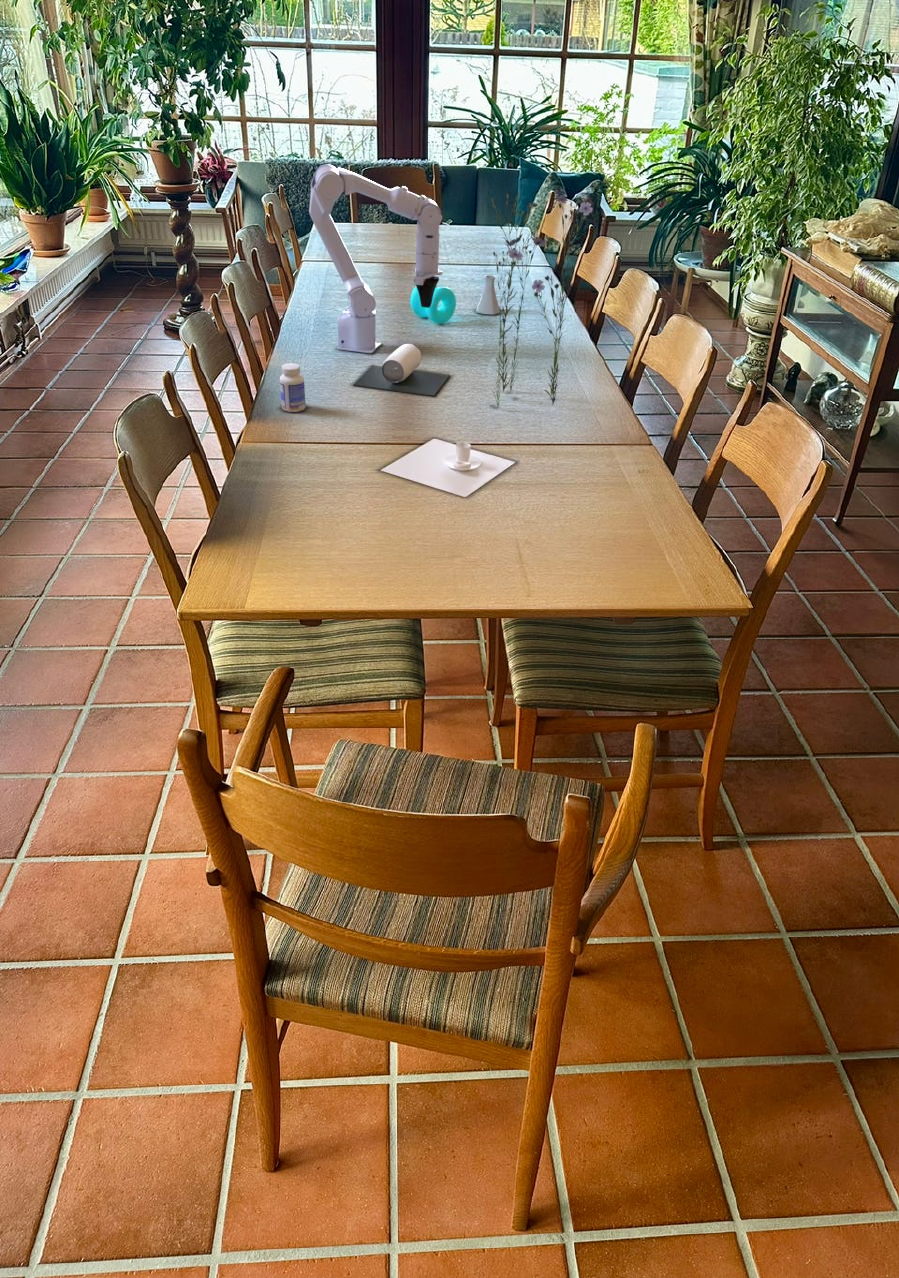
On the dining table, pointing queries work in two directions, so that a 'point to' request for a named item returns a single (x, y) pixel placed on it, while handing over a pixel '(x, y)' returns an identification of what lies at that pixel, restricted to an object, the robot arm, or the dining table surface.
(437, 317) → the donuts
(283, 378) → the pill bottle
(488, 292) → the flask
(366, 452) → the dining table surface
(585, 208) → the wildflower
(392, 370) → the can
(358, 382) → the mat
